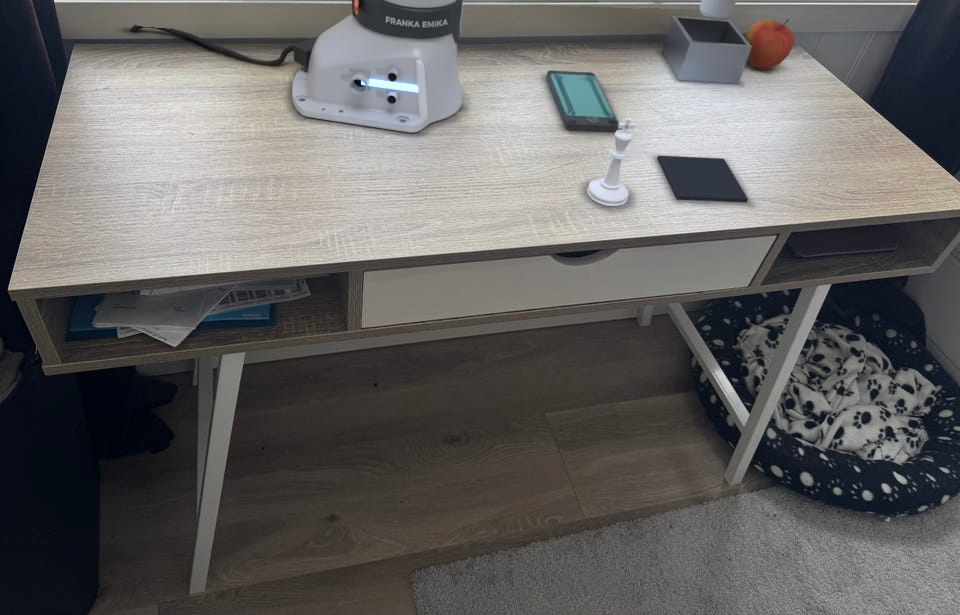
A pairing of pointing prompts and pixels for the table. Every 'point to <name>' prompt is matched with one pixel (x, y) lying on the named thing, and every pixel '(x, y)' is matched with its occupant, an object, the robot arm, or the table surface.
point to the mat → (701, 179)
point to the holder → (705, 50)
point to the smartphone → (581, 101)
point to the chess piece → (613, 172)
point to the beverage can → (717, 9)
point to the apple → (769, 43)
